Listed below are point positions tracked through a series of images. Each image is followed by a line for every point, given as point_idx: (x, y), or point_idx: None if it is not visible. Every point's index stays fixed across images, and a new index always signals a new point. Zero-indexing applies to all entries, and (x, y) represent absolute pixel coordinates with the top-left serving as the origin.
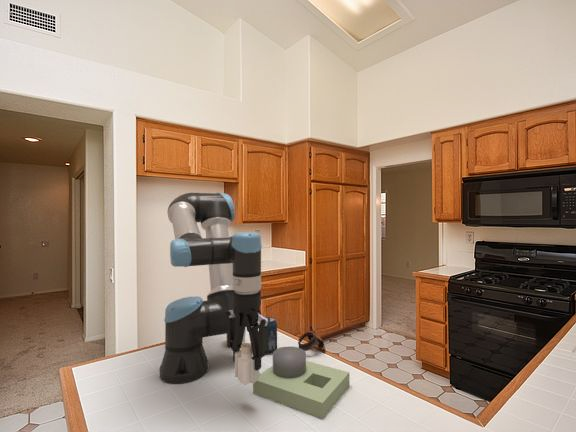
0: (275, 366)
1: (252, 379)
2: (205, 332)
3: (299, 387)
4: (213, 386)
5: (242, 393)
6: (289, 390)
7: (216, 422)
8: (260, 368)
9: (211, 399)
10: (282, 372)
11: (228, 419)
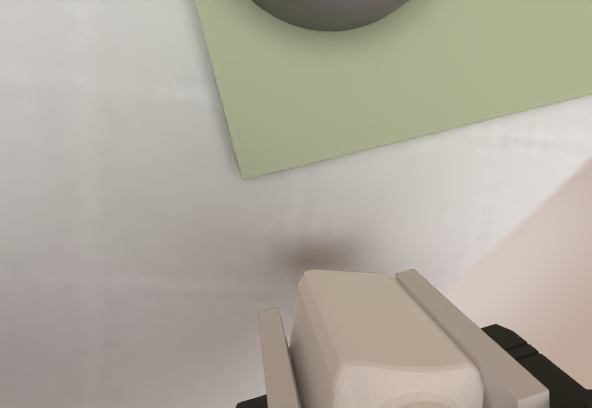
0: (318, 13)
1: None
2: None
3: (525, 38)
4: (35, 282)
5: (205, 208)
6: (497, 107)
7: None
8: (497, 328)
9: (147, 339)
10: (383, 14)
11: None
